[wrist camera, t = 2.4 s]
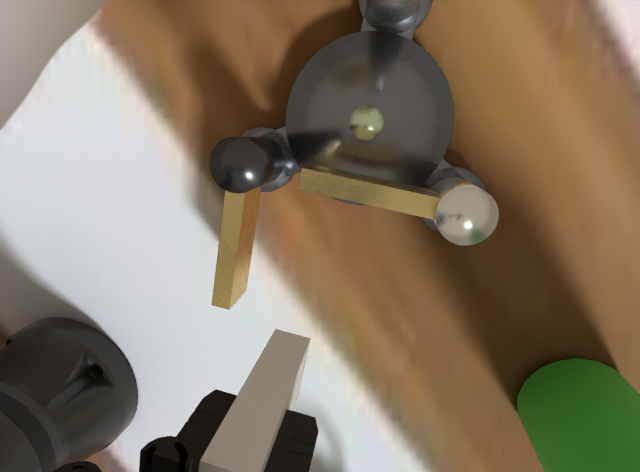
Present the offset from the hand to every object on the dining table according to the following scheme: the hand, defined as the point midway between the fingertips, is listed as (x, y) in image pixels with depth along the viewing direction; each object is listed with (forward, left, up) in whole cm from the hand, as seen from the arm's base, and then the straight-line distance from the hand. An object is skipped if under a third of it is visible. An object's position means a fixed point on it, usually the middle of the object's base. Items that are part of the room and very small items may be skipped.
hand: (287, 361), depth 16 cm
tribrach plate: (0, +12, -17) cm, 21 cm away
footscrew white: (+3, +6, -16) cm, 17 cm away
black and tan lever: (-7, +2, -16) cm, 17 cm away
